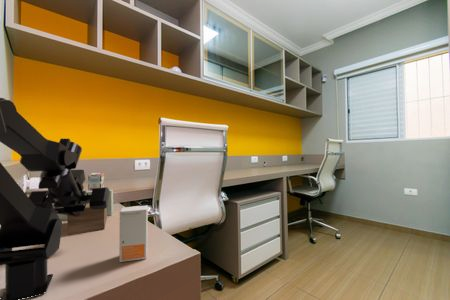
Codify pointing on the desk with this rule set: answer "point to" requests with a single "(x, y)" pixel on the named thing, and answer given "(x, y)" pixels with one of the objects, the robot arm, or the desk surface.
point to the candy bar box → (95, 181)
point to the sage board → (109, 205)
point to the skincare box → (133, 233)
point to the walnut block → (87, 221)
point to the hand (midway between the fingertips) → (78, 215)
